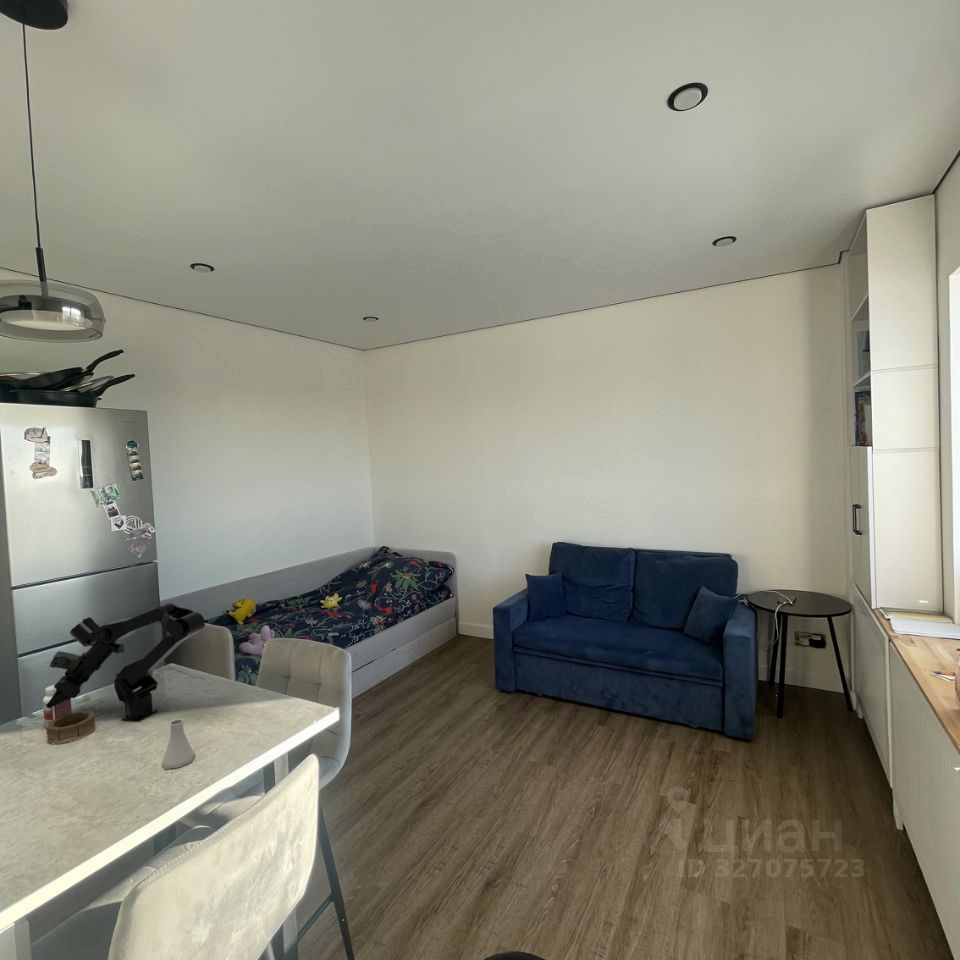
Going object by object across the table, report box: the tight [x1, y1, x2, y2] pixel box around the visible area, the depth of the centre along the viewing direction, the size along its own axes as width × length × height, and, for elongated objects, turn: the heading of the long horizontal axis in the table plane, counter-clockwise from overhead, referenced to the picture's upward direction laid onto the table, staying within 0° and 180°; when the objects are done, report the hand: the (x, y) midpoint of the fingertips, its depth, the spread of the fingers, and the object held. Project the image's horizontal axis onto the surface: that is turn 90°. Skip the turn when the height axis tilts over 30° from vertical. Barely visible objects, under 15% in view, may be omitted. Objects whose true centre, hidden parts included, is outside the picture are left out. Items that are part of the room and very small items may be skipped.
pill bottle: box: [42, 684, 73, 729], centre depth 148 cm, size 6×6×11 cm
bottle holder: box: [46, 710, 97, 745], centre depth 142 cm, size 10×10×4 cm
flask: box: [161, 718, 196, 770], centre depth 126 cm, size 7×7×10 cm
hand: (51, 702), depth 147 cm, fingers closed on pill bottle, 6 cm apart
